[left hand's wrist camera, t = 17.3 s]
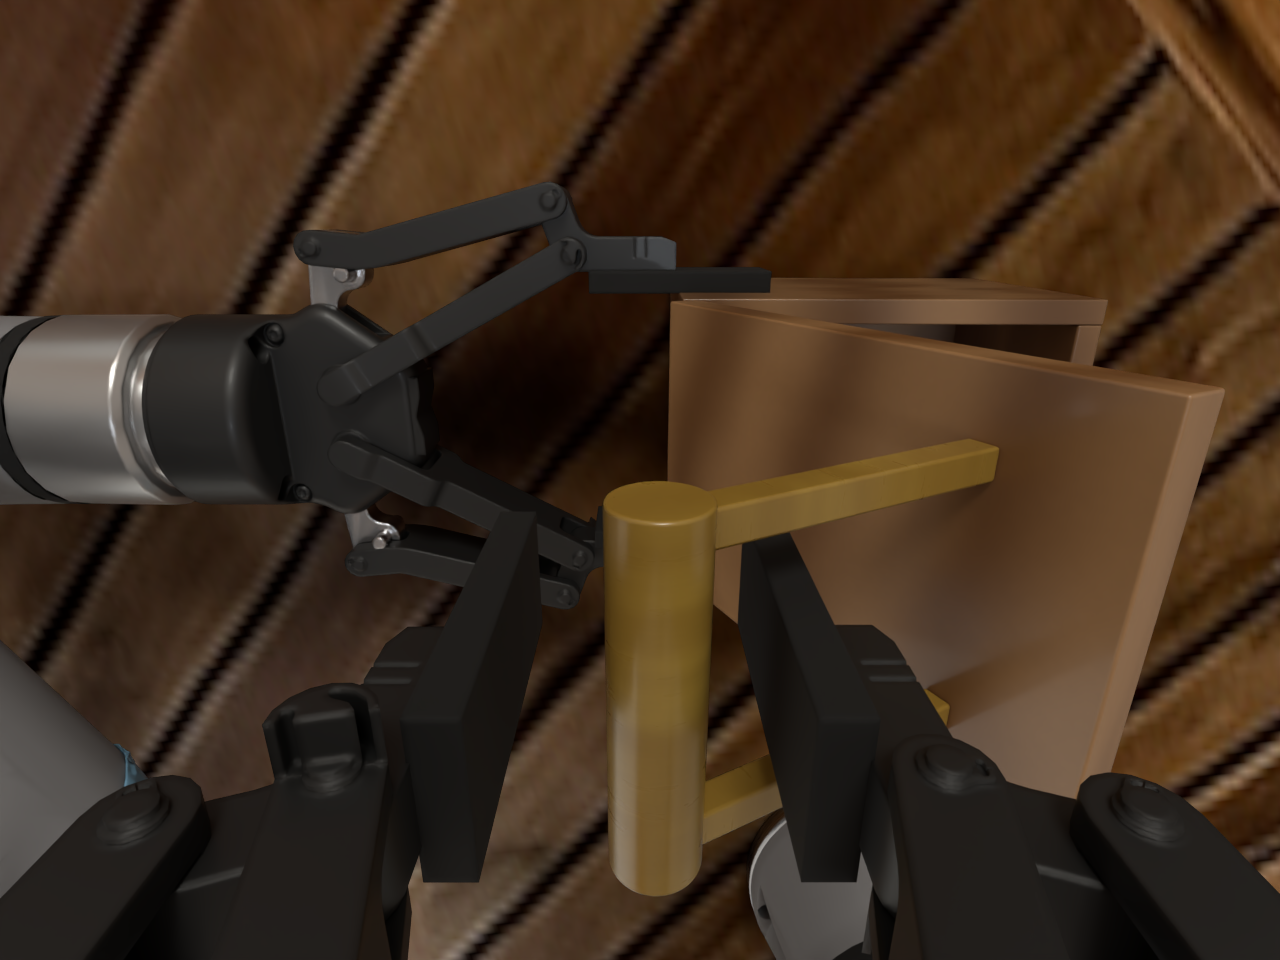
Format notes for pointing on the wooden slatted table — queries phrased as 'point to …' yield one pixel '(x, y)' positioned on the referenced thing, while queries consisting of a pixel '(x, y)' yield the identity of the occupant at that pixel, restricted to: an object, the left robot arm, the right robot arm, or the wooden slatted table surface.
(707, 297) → the chest
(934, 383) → the panel with bar handle
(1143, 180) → the wooden slatted table surface
